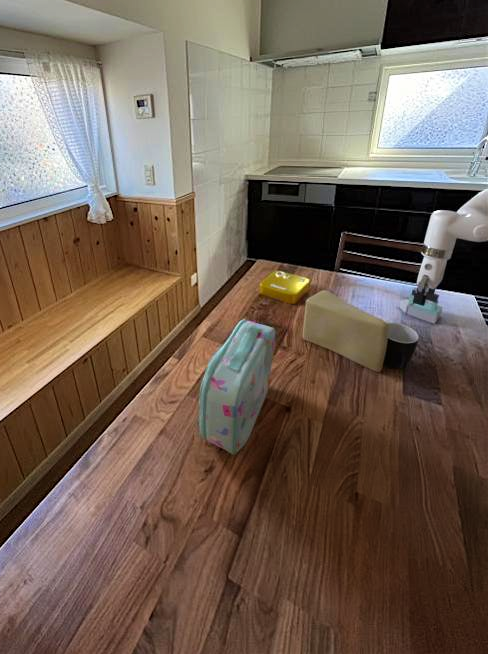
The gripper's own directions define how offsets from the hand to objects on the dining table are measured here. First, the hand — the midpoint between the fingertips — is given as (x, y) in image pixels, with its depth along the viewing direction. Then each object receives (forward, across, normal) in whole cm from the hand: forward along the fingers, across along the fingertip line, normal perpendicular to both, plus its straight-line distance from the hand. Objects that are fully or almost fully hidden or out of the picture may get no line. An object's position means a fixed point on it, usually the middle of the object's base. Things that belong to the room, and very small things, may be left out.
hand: (423, 298), depth 111 cm
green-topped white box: (+6, 0, 0) cm, 6 cm away
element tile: (+7, -18, +41) cm, 45 cm away
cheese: (+7, -35, +9) cm, 37 cm away
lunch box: (+7, -73, +17) cm, 75 cm away
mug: (+6, -31, -3) cm, 32 cm away
